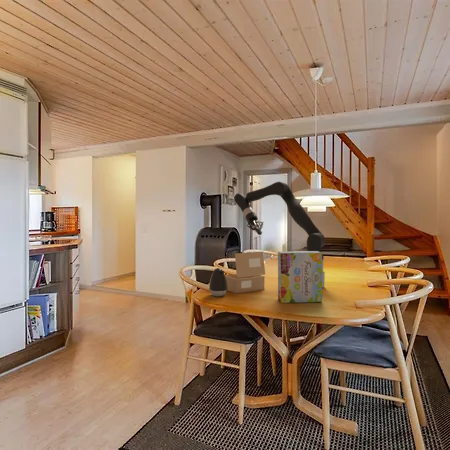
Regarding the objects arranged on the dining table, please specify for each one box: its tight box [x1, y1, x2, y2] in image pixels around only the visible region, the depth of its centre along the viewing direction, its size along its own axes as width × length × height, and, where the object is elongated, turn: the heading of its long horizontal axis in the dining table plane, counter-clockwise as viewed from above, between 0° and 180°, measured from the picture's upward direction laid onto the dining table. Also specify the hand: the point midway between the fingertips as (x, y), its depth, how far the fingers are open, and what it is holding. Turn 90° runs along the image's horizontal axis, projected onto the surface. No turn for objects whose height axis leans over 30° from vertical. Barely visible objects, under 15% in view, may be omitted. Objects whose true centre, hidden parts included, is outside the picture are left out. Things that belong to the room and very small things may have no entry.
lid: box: [234, 251, 266, 278], centre depth 193 cm, size 14×20×1 cm
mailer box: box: [225, 273, 265, 294], centre depth 199 cm, size 14×20×8 cm
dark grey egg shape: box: [208, 267, 228, 297], centre depth 183 cm, size 10×10×15 cm
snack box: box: [277, 250, 323, 304], centre depth 172 cm, size 22×9×26 cm, turn 92°
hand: (260, 234), depth 219 cm, fingers closed
